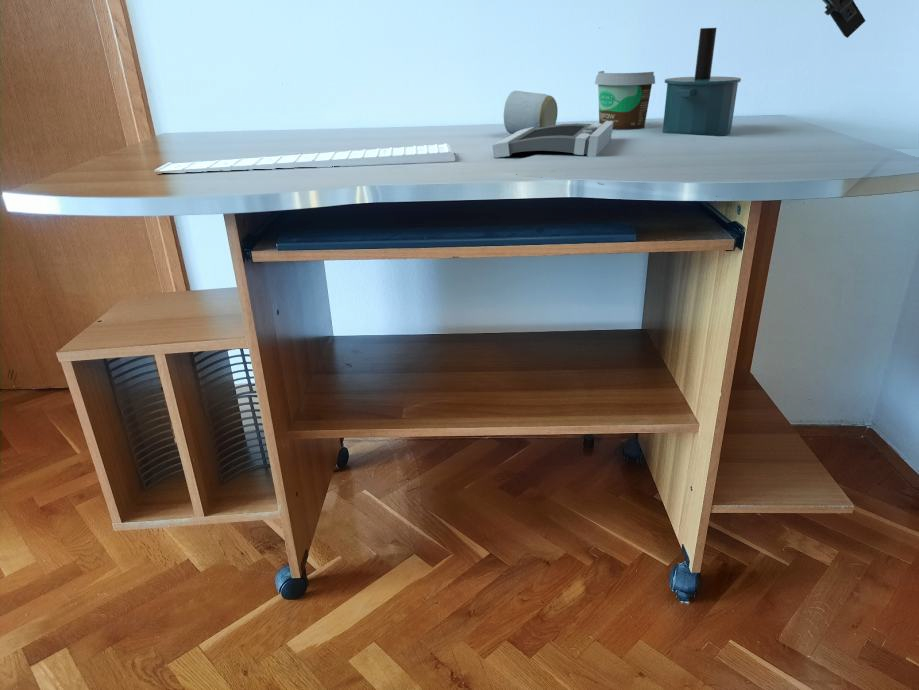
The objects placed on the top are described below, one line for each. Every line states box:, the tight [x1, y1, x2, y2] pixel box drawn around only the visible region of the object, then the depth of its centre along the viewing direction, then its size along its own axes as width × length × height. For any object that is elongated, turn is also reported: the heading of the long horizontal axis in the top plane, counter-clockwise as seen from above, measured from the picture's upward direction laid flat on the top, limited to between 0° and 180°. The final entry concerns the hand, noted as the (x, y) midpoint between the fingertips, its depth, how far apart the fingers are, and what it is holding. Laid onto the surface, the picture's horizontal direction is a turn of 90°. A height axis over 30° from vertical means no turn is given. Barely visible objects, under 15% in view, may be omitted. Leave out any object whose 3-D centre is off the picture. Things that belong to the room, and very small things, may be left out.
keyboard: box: [154, 142, 456, 173], centre depth 99 cm, size 45×8×2 cm, turn 94°
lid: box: [664, 27, 742, 85], centre depth 110 cm, size 13×13×9 cm
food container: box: [594, 70, 656, 130], centre depth 123 cm, size 12×6×10 cm, turn 42°
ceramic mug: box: [503, 90, 558, 135], centre depth 119 cm, size 11×8×8 cm
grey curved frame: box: [491, 121, 613, 159], centre depth 103 cm, size 17×5×16 cm
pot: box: [662, 82, 739, 137], centre depth 114 cm, size 12×17×8 cm
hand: (824, 8), depth 91 cm, fingers open, 13 cm apart
